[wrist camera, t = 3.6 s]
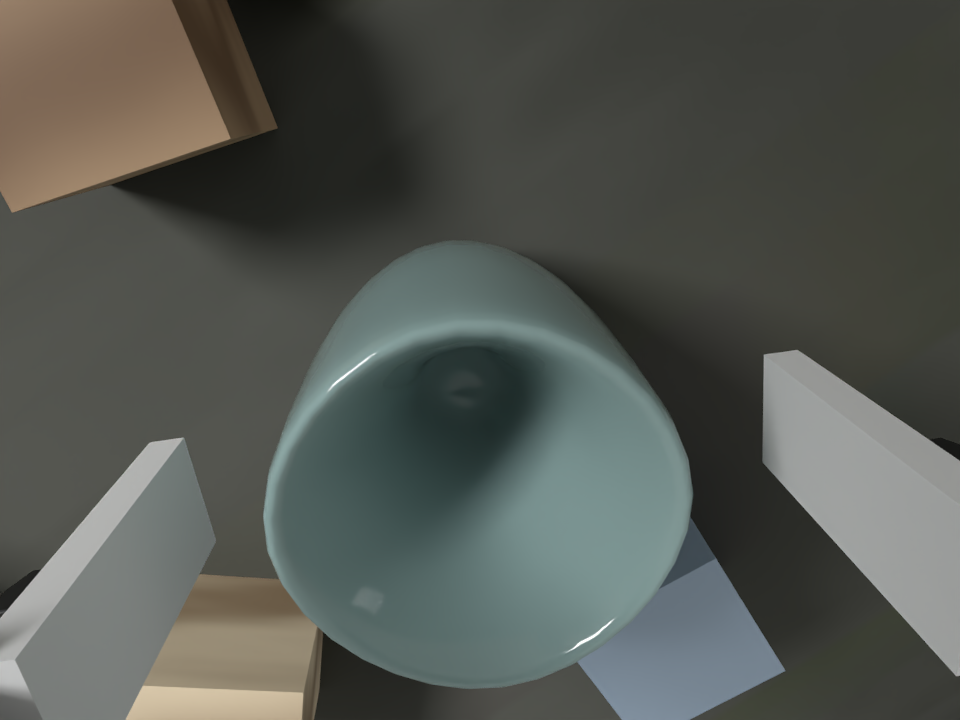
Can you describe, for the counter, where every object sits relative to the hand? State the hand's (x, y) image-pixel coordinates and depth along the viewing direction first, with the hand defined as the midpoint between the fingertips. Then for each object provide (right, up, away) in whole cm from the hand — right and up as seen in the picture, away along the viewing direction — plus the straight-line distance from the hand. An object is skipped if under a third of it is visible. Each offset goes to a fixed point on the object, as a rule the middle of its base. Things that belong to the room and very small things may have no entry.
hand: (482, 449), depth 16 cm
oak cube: (-8, -8, +10) cm, 15 cm away
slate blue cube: (+5, -5, +9) cm, 12 cm away
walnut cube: (-9, +10, +3) cm, 14 cm away
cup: (-1, +3, +6) cm, 7 cm away
